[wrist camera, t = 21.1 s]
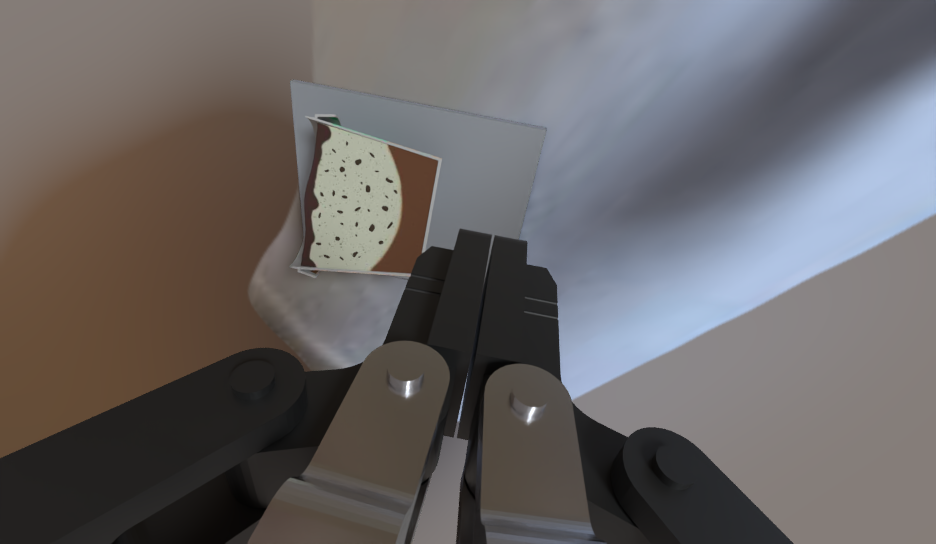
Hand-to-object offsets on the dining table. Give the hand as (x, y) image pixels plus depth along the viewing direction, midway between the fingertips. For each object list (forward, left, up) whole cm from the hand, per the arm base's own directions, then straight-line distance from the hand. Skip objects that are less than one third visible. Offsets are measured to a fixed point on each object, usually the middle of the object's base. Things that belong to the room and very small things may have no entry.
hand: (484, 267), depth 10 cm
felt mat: (+7, +14, -27) cm, 31 cm away
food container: (+5, +13, -24) cm, 28 cm away
